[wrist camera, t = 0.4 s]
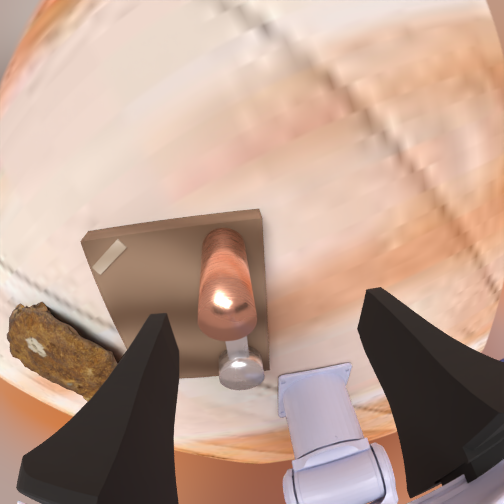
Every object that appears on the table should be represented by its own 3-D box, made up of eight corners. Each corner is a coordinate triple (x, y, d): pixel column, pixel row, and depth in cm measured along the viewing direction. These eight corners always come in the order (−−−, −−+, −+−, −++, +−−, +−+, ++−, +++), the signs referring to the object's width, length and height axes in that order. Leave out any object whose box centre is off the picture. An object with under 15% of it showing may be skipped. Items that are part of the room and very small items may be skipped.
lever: (262, 369, 25) (272, 432, 19) (221, 373, 25) (225, 437, 19) (251, 224, 18) (267, 293, 12) (191, 231, 17) (180, 303, 12)
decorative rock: (162, 348, 26) (25, 271, 21) (157, 382, 22) (3, 297, 17) (124, 400, 29) (15, 342, 24) (119, 428, 26) (1, 366, 21)
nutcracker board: (267, 357, 27) (269, 370, 25) (145, 367, 26) (143, 380, 25) (258, 208, 19) (262, 218, 18) (88, 231, 18) (80, 242, 17)
